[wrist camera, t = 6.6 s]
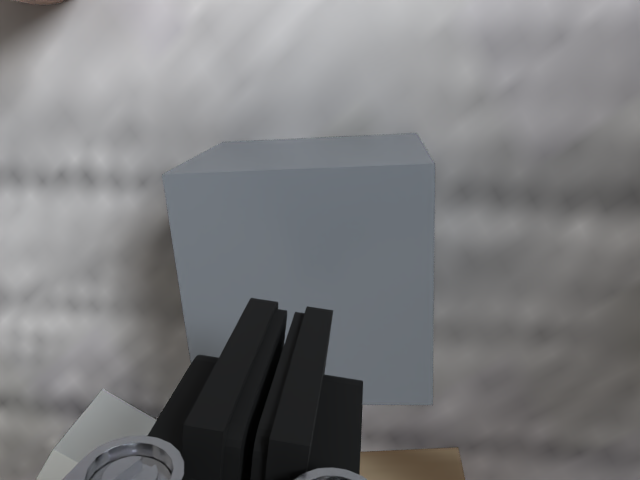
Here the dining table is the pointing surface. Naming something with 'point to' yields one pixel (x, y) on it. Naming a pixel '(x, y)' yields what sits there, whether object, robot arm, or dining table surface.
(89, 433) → the pale grey block
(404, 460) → the oak cube
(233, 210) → the slate block
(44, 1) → the terracotta cylinder
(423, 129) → the dining table surface
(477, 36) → the dining table surface
